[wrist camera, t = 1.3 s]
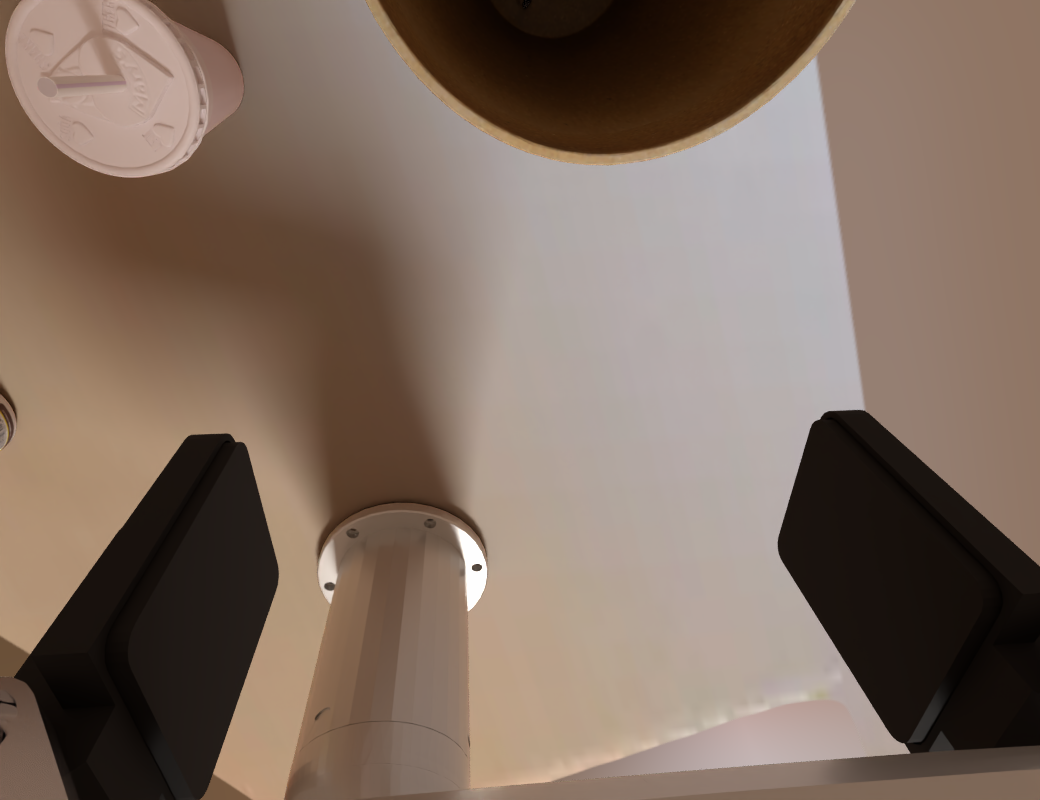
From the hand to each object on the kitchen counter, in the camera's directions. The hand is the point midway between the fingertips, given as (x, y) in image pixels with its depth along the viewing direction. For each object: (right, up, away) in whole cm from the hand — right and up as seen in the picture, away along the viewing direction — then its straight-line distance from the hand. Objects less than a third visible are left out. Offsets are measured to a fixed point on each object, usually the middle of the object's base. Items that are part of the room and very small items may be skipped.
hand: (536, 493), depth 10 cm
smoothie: (-16, +17, +20) cm, 31 cm away
